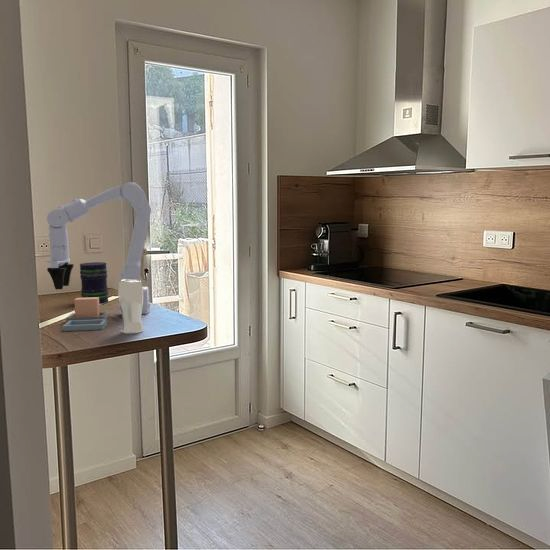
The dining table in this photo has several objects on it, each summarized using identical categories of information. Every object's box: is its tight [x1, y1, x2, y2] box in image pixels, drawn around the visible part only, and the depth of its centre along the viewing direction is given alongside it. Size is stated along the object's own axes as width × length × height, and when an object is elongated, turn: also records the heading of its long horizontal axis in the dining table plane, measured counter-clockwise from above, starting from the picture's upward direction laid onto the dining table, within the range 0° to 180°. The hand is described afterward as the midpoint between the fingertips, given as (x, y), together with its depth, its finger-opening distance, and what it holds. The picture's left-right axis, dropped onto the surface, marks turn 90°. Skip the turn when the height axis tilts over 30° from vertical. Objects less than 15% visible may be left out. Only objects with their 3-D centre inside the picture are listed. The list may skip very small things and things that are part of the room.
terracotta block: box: [73, 297, 101, 317], centre depth 181 cm, size 7×4×7 cm, turn 97°
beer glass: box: [117, 279, 144, 335], centre depth 161 cm, size 7×7×15 cm
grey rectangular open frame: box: [65, 311, 109, 323], centre depth 181 cm, size 12×8×2 cm
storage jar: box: [79, 261, 109, 305], centre depth 213 cm, size 10×10×15 cm
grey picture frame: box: [62, 318, 109, 332], centre depth 169 cm, size 12×8×2 cm
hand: (62, 287), depth 184 cm, fingers open, 7 cm apart
